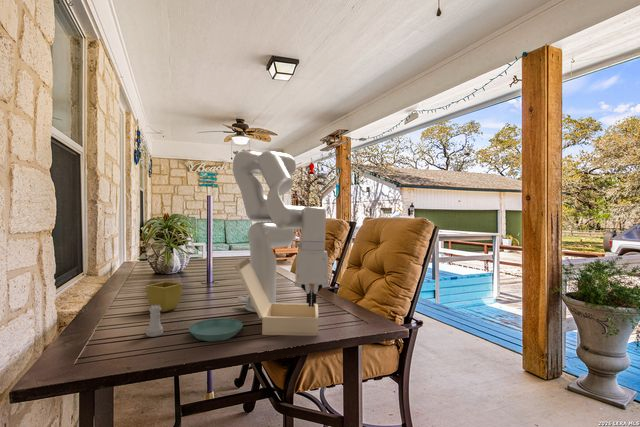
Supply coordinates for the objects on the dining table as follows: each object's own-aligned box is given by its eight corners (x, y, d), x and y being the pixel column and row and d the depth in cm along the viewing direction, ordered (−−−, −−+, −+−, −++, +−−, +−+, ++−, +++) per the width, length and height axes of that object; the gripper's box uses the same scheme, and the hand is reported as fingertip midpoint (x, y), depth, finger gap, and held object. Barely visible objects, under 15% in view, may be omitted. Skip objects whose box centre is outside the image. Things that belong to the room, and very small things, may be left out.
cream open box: (262, 334, 98) (262, 317, 98) (269, 318, 114) (269, 303, 114) (318, 335, 99) (318, 318, 99) (317, 318, 115) (317, 303, 115)
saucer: (200, 326, 106) (200, 317, 106) (248, 327, 105) (248, 318, 105) (179, 343, 91) (179, 333, 91) (234, 345, 90) (234, 335, 91)
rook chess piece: (151, 338, 94) (152, 308, 94) (142, 335, 96) (143, 306, 96) (166, 333, 97) (167, 305, 98) (157, 330, 100) (158, 303, 100)
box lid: (262, 317, 98) (259, 318, 98) (269, 302, 115) (267, 304, 115) (237, 264, 98) (234, 266, 98) (248, 257, 115) (245, 259, 115)
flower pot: (144, 311, 119) (145, 285, 119) (164, 305, 127) (165, 281, 127) (163, 314, 116) (164, 287, 116) (183, 308, 124) (183, 283, 124)
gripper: (287, 247, 103) (286, 308, 103) (337, 248, 103) (336, 309, 103) (289, 244, 111) (288, 302, 111) (336, 246, 111) (334, 303, 111)
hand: (311, 305), depth 107 cm, fingers closed
